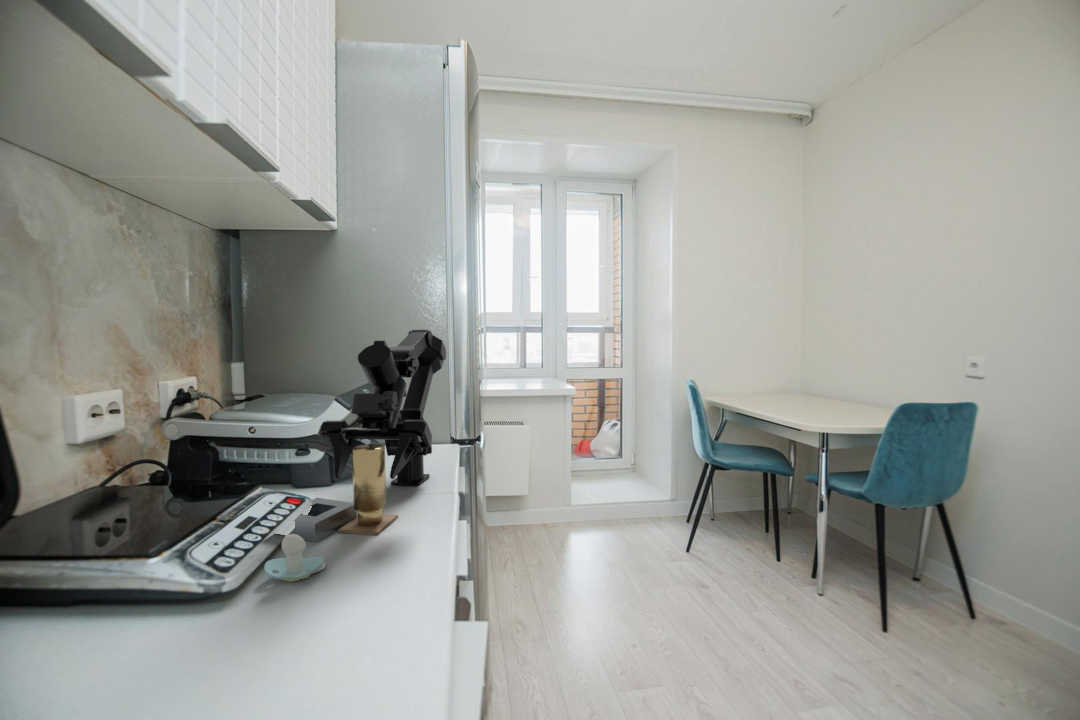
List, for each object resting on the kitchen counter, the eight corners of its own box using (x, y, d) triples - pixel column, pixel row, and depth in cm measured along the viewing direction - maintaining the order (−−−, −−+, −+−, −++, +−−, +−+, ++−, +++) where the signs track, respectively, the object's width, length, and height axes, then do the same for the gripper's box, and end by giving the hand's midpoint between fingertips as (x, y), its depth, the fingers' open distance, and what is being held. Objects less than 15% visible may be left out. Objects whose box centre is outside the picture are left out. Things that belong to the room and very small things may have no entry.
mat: (361, 515, 83) (361, 512, 83) (398, 517, 82) (398, 514, 82) (338, 532, 76) (338, 529, 76) (378, 534, 75) (378, 531, 75)
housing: (317, 513, 84) (317, 497, 84) (357, 520, 81) (356, 503, 81) (273, 534, 76) (272, 516, 76) (315, 542, 73) (314, 523, 73)
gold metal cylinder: (357, 516, 81) (355, 444, 81) (388, 514, 82) (386, 443, 82) (351, 529, 76) (349, 452, 76) (384, 526, 77) (382, 450, 76)
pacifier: (282, 565, 66) (259, 587, 60) (281, 522, 66) (257, 539, 60) (334, 563, 67) (316, 585, 61) (333, 520, 66) (315, 537, 60)
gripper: (321, 375, 82) (288, 453, 72) (425, 374, 81) (407, 453, 71) (343, 412, 90) (316, 486, 80) (438, 411, 90) (423, 486, 79)
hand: (364, 478), depth 77 cm, fingers open, 9 cm apart
